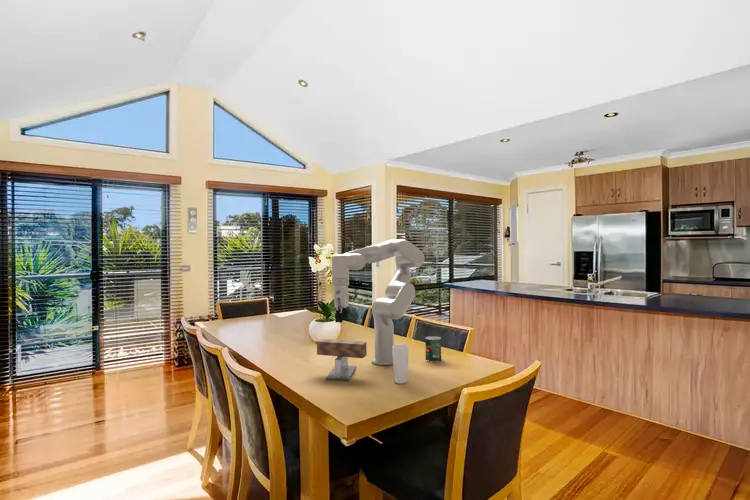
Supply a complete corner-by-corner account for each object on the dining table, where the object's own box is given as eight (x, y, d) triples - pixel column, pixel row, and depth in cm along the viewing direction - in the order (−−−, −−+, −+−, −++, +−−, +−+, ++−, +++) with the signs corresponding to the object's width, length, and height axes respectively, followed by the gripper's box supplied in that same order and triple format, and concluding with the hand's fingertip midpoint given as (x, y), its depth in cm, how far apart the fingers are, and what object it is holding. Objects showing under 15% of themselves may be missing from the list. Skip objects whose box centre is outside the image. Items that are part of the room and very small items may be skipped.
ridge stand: (356, 368, 181) (356, 350, 181) (348, 381, 163) (348, 361, 163) (335, 367, 182) (335, 349, 182) (325, 380, 164) (325, 360, 164)
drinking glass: (404, 385, 156) (403, 349, 156) (389, 383, 160) (389, 347, 160) (411, 380, 162) (411, 345, 162) (397, 378, 165) (396, 343, 165)
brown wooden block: (366, 355, 171) (366, 341, 171) (362, 358, 167) (362, 344, 167) (322, 351, 178) (321, 338, 178) (317, 354, 174) (316, 341, 174)
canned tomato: (422, 359, 193) (421, 337, 193) (432, 356, 198) (432, 335, 198) (434, 362, 187) (434, 340, 187) (444, 359, 192) (444, 337, 192)
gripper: (344, 283, 163) (345, 323, 163) (352, 280, 180) (353, 316, 181) (327, 283, 164) (328, 323, 165) (336, 280, 182) (337, 316, 182)
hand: (341, 319), depth 173 cm, fingers open, 9 cm apart
